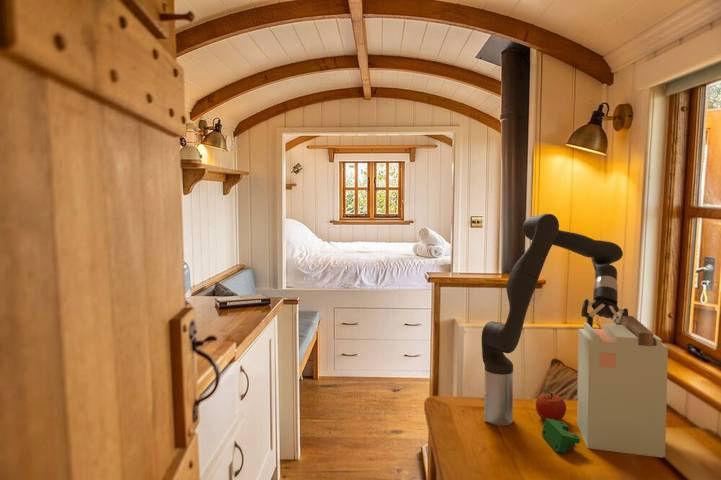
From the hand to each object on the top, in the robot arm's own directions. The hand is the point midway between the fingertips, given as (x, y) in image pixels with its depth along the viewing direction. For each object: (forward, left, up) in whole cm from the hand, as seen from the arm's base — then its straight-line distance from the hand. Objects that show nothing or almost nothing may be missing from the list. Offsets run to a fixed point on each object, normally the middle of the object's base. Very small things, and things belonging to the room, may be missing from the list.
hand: (604, 331), depth 147 cm
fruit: (-17, -5, -30) cm, 35 cm away
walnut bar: (+6, -11, +2) cm, 13 cm away
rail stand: (+1, -14, -30) cm, 33 cm away
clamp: (-16, -22, -30) cm, 41 cm away
